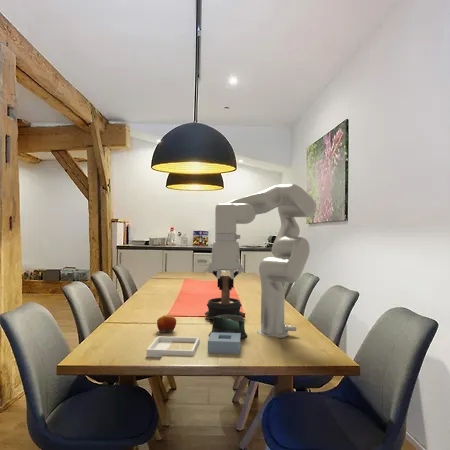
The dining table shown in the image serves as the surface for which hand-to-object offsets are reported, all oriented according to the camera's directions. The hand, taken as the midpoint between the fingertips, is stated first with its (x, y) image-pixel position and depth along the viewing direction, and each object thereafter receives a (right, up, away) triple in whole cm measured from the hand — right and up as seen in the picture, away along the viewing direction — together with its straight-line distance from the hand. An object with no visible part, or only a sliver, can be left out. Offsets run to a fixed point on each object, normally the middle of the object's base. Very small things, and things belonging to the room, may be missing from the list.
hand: (225, 289), depth 145 cm
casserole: (-1, -22, +50) cm, 55 cm away
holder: (0, -22, 0) cm, 22 cm away
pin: (0, -5, 0) cm, 5 cm away
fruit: (-25, -22, +25) cm, 41 cm away
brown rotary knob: (+1, -22, +15) cm, 27 cm away
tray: (-18, -22, 0) cm, 29 cm away
